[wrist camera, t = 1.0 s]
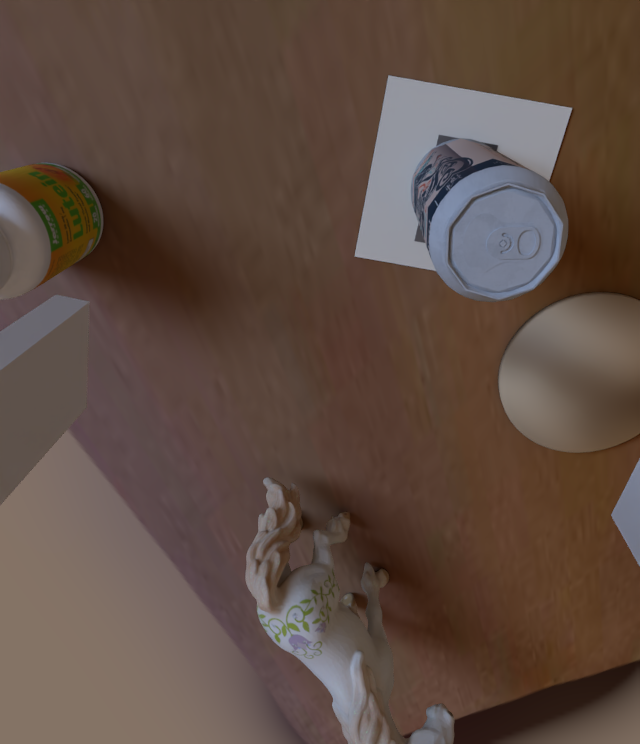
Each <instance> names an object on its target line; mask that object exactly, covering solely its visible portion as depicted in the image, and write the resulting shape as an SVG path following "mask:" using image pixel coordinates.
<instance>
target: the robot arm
mask: <svg viewBox="0 0 640 744" xmlns="http://www.w3.org/2000/svg"><path fill="white" fill-rule="evenodd" d="M89 304H90V302H88V301H83V300H79V299H74V298H69V297H64V296H59V295H55V296H53V297H52V298H50V299H49V300H47V301H46V302H44V303H43V304H41V305H40V306H38V307H37V308H35V309H34V310H32V311H31V312H29V313H28V314H26V315H25V316H23V317H22V318H20V319H19V320H17V321H15V322H14V323H12V324H11V325H9V326H8V327H6V328H5V329H3V330H2V331H0V505H1V504H2V503H3V502H4V500H5V499H6V498H7V497H8V496H9V495H10V494H11V493H12V491H13V490H14V489H15V488H16V487H17V486H18V484H19V483H20V482H21V481H22V480H23V479H24V478H25V476H26V475H27V474H28V473H29V472H30V471H31V470H32V469H33V468H34V466H35V465H36V464H37V463H38V462H39V460H41V459H42V457H43V456H44V455H45V454H46V453H47V452H48V451H49V449H50V448H51V447H52V446H53V445H54V444H55V443H56V442H57V440H58V439H59V438H60V437H61V436H62V435H63V434H64V432H65V431H66V430H67V429H68V428H69V427H70V426H71V425H72V423H73V422H74V421H75V420H76V419H77V418H78V417H79V415H80V414H81V413H82V412H83V411H84V410H85V409H86V408H87V374H88V339H89ZM611 516H612V518H613V520H614V522H615V523H616V525H617V527H618V529H619V530H620V532H621V534H622V536H623V538H624V539H625V541H626V543H627V545H628V546H629V548H630V550H631V552H632V554H633V555H634V557H635V559H636V561H637V562H638V564H639V566H640V459H639V461H638V463H637V465H636V467H635V469H634V471H633V473H632V475H631V477H630V479H629V481H628V483H627V485H626V487H625V489H624V491H623V493H622V495H621V496H620V498H619V500H618V502H617V504H616V506H615V508H614V510H613V512H612V514H611Z"/></svg>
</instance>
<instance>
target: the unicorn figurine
mask: <svg viewBox="0 0 640 744" xmlns="http://www.w3.org/2000/svg"><path fill="white" fill-rule="evenodd" d="M263 483H264V485H265V486H266V488H267V489H268V492H267V493H266V499H267V502H268V505H269V508H268V509H267V511H266V513H265V514H260V515H259V520H258V527H259V532H258V534H257V535H256V537H255V539H254V541H253V543H252V545H251V546H250V548H249V549H248V552H247V556H246V560H247V569H246V583H247V586H248V588H249V590H250V591H251V593H252V595H253V596H254V597H255V598H256V600H257V613H258V617H259V620H260V622H261V624H262V625H263V627H264V629H265V631H266V632H267V634H268V635H269V636H270V638H271V639H272V640H273V641H274V642H275V643H276V644H277V645H278V646H279V647H281V648H282V649H284V650H286V651H288V652H290V653H292V654H293V655H295V656H296V657H298V658H299V659H300V660H301V661H302V662H303V663H304V664H305V665H306V666H307V667H308V668H309V669H310V670H311V671H312V672H313V673H314V674H315V675H316V676H317V677H318V678H319V679H320V680H321V681H322V682H323V684H324V685H325V686H326V687H327V689H328V690H329V692H330V693H331V695H332V697H333V703H332V707H333V710H334V712H335V714H336V716H337V718H338V720H339V721H340V723H341V725H342V731H343V735H344V737H345V738H346V739H347V740H348V744H453V740H454V721H455V720H454V716H453V714H452V713H451V712H450V711H449V710H448V709H447V708H446V706H445V705H444V704H435V705H433V706H432V707H429V708H427V711H426V714H427V718H428V719H427V721H426V722H425V724H424V726H423V727H422V729H418V730H416V731H415V732H414V733H413V734H412V735H411V737H410V738H408V739H406V738H404V737H403V736H402V735H401V734H400V733H399V731H398V730H397V728H396V726H395V723H394V721H393V719H392V716H391V713H390V710H389V706H388V701H389V698H390V694H391V691H392V688H393V684H394V673H393V667H394V665H393V654H392V651H391V648H390V646H389V644H388V641H387V638H386V634H385V631H384V629H383V626H382V610H381V606H380V603H379V597H378V595H379V589H380V587H384V586H385V585H386V584H387V582H388V581H389V574H388V573H387V571H386V570H384V569H380V570H379V571H377V572H374V569H373V567H372V566H371V565H370V564H369V563H366V564H365V566H364V572H363V576H362V579H361V587H362V589H363V590H364V592H365V593H366V594H367V597H368V604H367V607H366V617H367V619H368V630H367V629H366V627H365V625H364V623H363V622H362V621H361V619H360V617H359V615H358V613H357V605H356V602H355V597H354V595H353V594H352V593H349V594H346V595H345V596H344V597H343V598H342V599H341V601H340V602H339V595H340V591H339V586H338V583H337V580H336V578H335V575H334V562H333V558H332V554H331V551H330V545H332V544H336V543H342V542H344V541H346V539H347V535H348V530H349V527H350V513H349V512H343V513H340V514H339V515H338V516H337V517H335V516H332V519H331V520H329V521H328V522H327V524H326V531H324V530H315V531H314V532H313V539H314V544H315V545H314V550H313V559H312V563H311V564H310V565H305V566H301V567H299V568H296V569H295V570H293V571H292V572H291V569H290V566H289V563H288V561H289V559H290V553H289V545H290V543H292V542H294V541H296V540H297V539H298V538H299V535H300V533H301V528H302V526H303V521H302V518H301V515H302V511H301V508H300V504H299V501H300V497H299V490H298V488H297V486H296V485H295V484H291V489H290V491H289V490H287V489H286V487H285V486H284V485H283V484H281V483H280V482H278V481H276V480H275V479H273V478H268V477H267V478H265V479H264V480H263Z"/></svg>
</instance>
